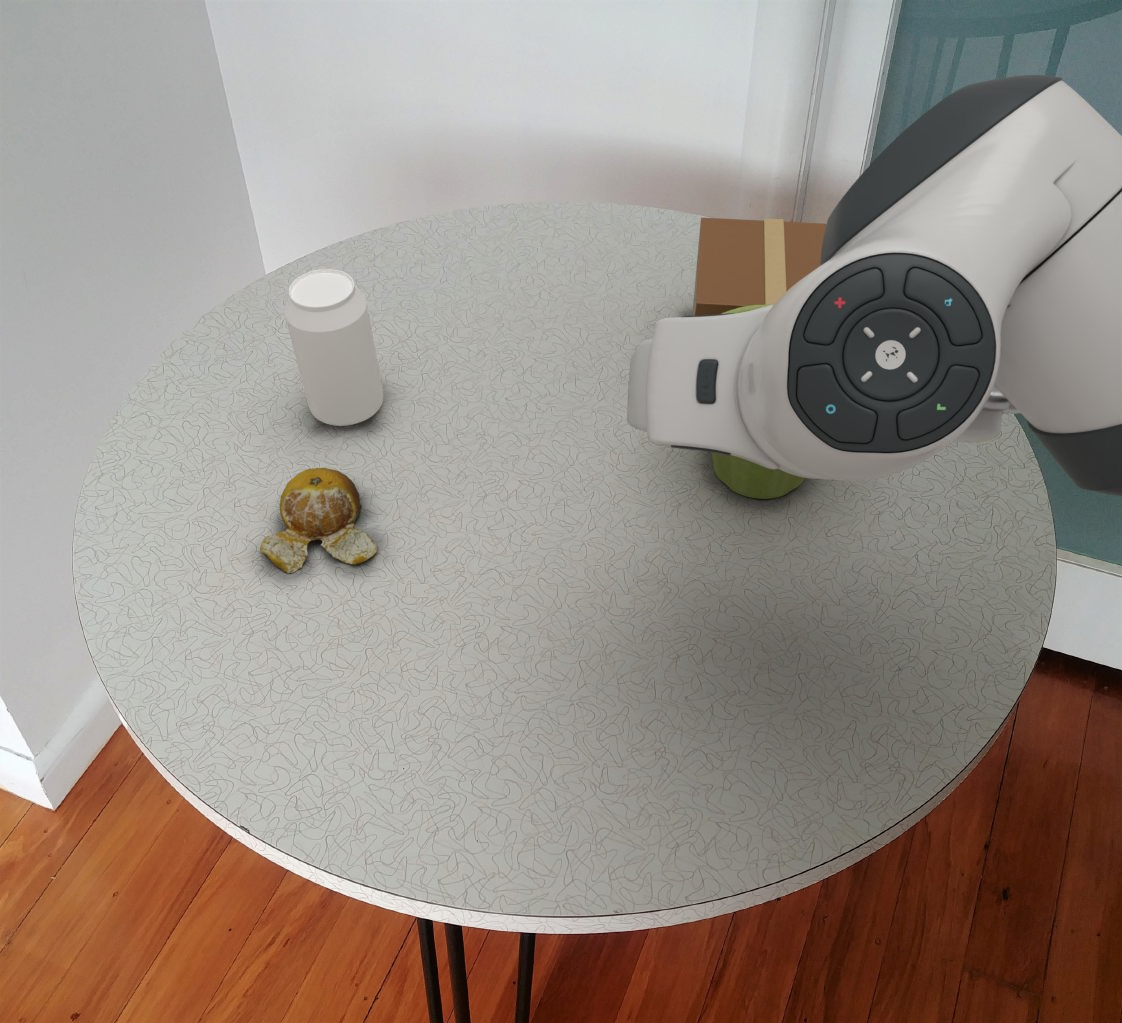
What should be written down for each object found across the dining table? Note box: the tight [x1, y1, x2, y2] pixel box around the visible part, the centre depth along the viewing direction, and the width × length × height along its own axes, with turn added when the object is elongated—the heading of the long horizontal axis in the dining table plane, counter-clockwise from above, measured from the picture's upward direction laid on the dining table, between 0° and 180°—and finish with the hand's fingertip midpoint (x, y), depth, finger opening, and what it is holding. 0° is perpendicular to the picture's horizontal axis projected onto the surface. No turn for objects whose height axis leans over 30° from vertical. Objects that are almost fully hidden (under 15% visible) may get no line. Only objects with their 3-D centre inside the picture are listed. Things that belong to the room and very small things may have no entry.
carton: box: [691, 217, 827, 316], centre depth 87 cm, size 12×12×10 cm
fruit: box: [260, 467, 378, 574], centre depth 78 cm, size 8×8×4 cm
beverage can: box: [284, 268, 384, 427], centre depth 84 cm, size 6×6×12 cm
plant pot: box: [711, 304, 805, 500], centre depth 78 cm, size 12×12×11 cm
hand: (793, 407), depth 66 cm, fingers closed
